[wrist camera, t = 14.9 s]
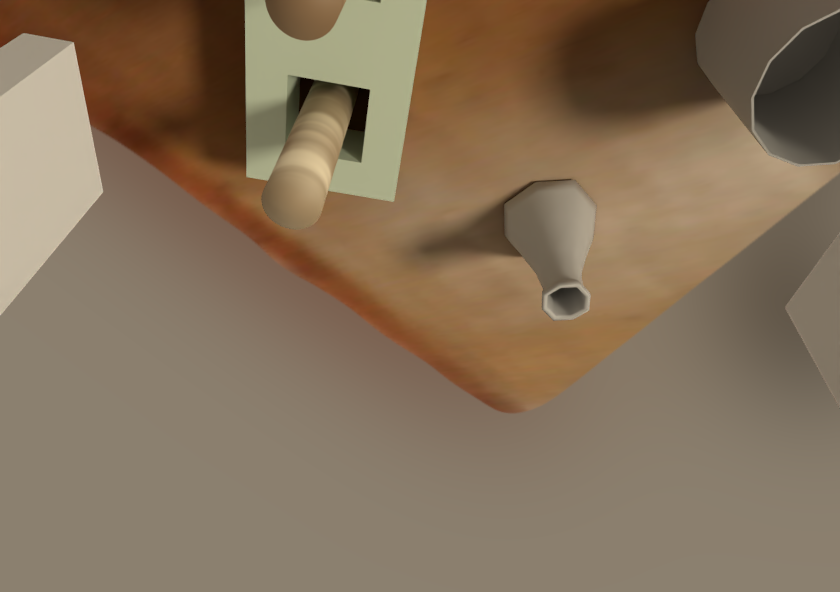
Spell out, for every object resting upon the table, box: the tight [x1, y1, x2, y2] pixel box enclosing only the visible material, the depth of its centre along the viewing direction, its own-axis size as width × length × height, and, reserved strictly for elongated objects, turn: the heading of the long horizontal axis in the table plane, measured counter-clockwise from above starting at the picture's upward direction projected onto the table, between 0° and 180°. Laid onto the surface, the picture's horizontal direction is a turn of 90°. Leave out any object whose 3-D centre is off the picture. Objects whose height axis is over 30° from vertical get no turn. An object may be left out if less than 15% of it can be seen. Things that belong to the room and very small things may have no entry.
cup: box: [695, 0, 840, 166], centre depth 36 cm, size 8×8×10 cm
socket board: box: [245, 0, 427, 202], centre depth 39 cm, size 20×10×4 cm, turn 171°
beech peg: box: [262, 80, 359, 229], centre depth 38 cm, size 3×3×15 cm
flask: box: [504, 180, 597, 320], centre depth 45 cm, size 7×7×10 cm
